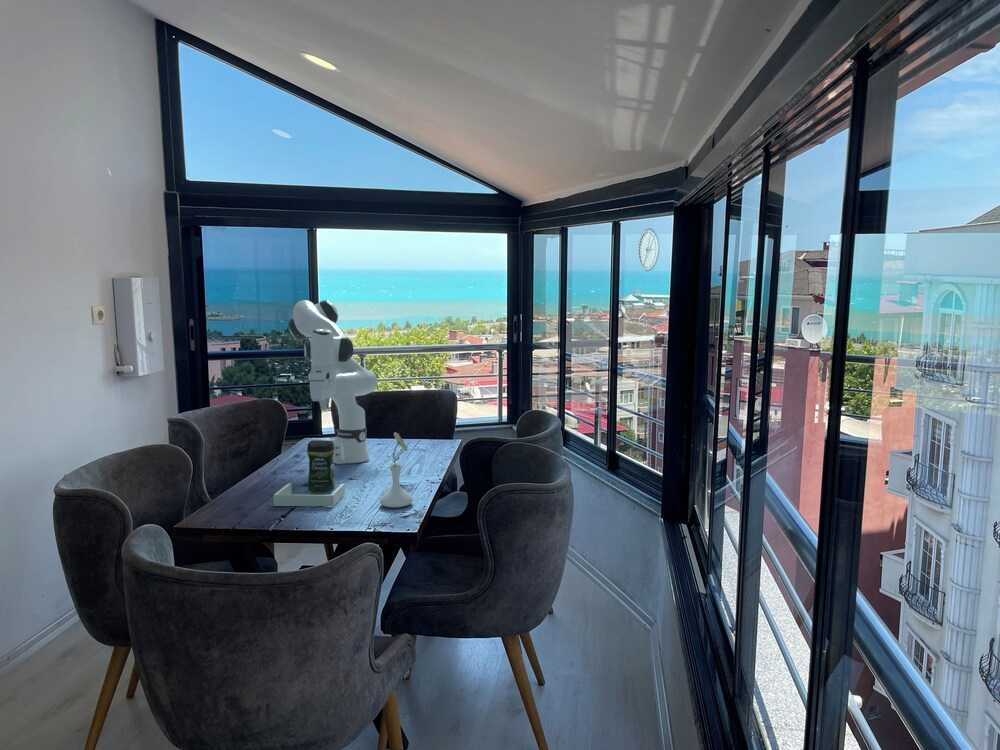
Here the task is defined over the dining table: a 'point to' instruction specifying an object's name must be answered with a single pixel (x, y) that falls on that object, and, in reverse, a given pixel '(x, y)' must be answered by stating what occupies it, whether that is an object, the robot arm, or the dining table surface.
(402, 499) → the flower in vase
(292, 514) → the dining table surface
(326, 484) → the coffee jar
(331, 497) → the report bay
